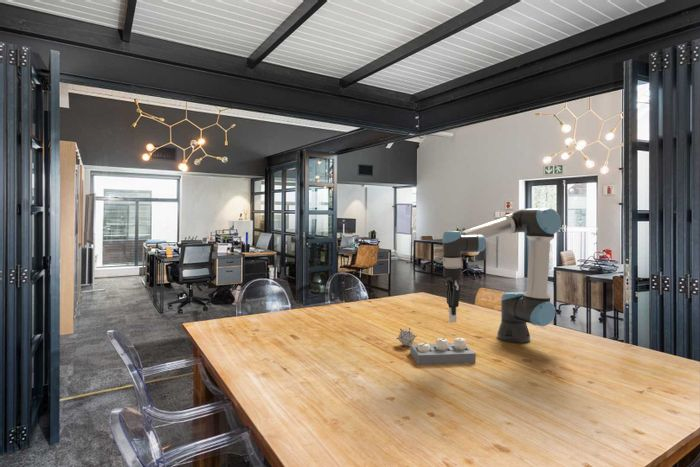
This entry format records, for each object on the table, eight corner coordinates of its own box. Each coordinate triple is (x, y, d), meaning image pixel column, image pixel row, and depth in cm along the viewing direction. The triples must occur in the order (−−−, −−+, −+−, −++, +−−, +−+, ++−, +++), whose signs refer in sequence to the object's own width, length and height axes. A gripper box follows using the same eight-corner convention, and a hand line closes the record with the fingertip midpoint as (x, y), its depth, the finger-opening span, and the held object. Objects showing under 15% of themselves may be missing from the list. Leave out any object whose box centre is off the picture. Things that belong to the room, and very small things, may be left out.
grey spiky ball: (409, 354, 187) (415, 341, 181) (392, 347, 188) (398, 333, 182) (414, 340, 194) (420, 327, 188) (397, 333, 195) (403, 320, 189)
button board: (462, 351, 180) (462, 342, 180) (475, 362, 166) (475, 353, 166) (410, 353, 177) (410, 344, 177) (418, 364, 163) (418, 355, 163)
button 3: (427, 354, 173) (427, 342, 173) (431, 358, 168) (431, 346, 168) (416, 354, 173) (416, 342, 173) (419, 358, 168) (419, 346, 168)
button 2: (445, 349, 174) (445, 337, 174) (449, 353, 169) (449, 341, 169) (434, 349, 174) (434, 338, 174) (438, 353, 169) (438, 341, 169)
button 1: (463, 348, 175) (463, 337, 175) (467, 352, 170) (467, 340, 170) (452, 349, 175) (452, 337, 174) (456, 353, 170) (456, 341, 169)
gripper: (438, 265, 177) (439, 318, 178) (448, 269, 164) (449, 326, 165) (455, 265, 178) (455, 317, 179) (466, 268, 165) (467, 325, 166)
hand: (452, 321), depth 172 cm, fingers closed
